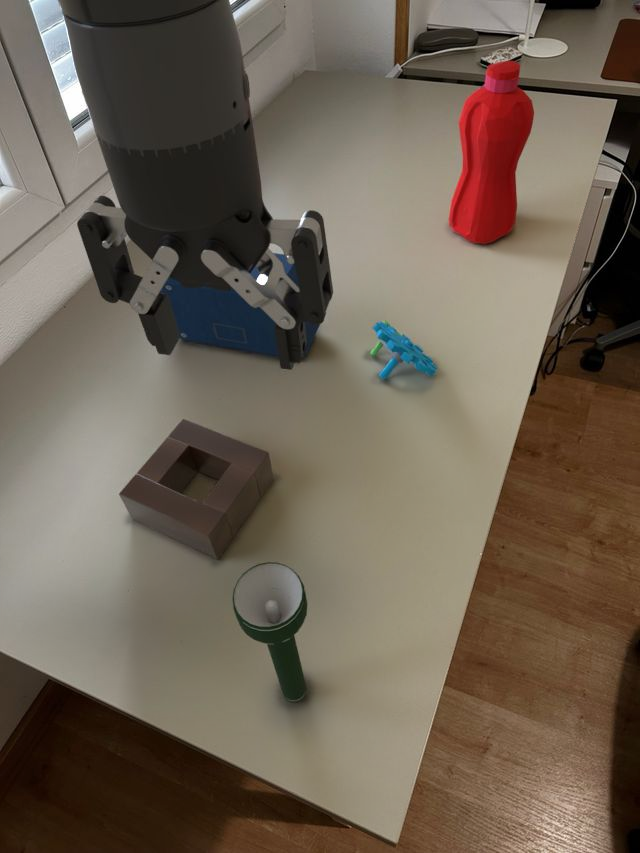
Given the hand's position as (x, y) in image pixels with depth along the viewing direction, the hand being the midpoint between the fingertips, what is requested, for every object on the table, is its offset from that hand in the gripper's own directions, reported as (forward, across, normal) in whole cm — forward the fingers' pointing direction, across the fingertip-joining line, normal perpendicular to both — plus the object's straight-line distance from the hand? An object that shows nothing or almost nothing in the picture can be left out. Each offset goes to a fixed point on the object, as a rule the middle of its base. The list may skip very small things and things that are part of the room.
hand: (229, 353), depth 43 cm
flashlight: (+32, +4, -11) cm, 34 cm away
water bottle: (+32, +15, +67) cm, 75 cm away
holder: (+32, -11, +8) cm, 34 cm away
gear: (+32, +8, +32) cm, 46 cm away
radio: (+32, -15, +36) cm, 50 cm away
